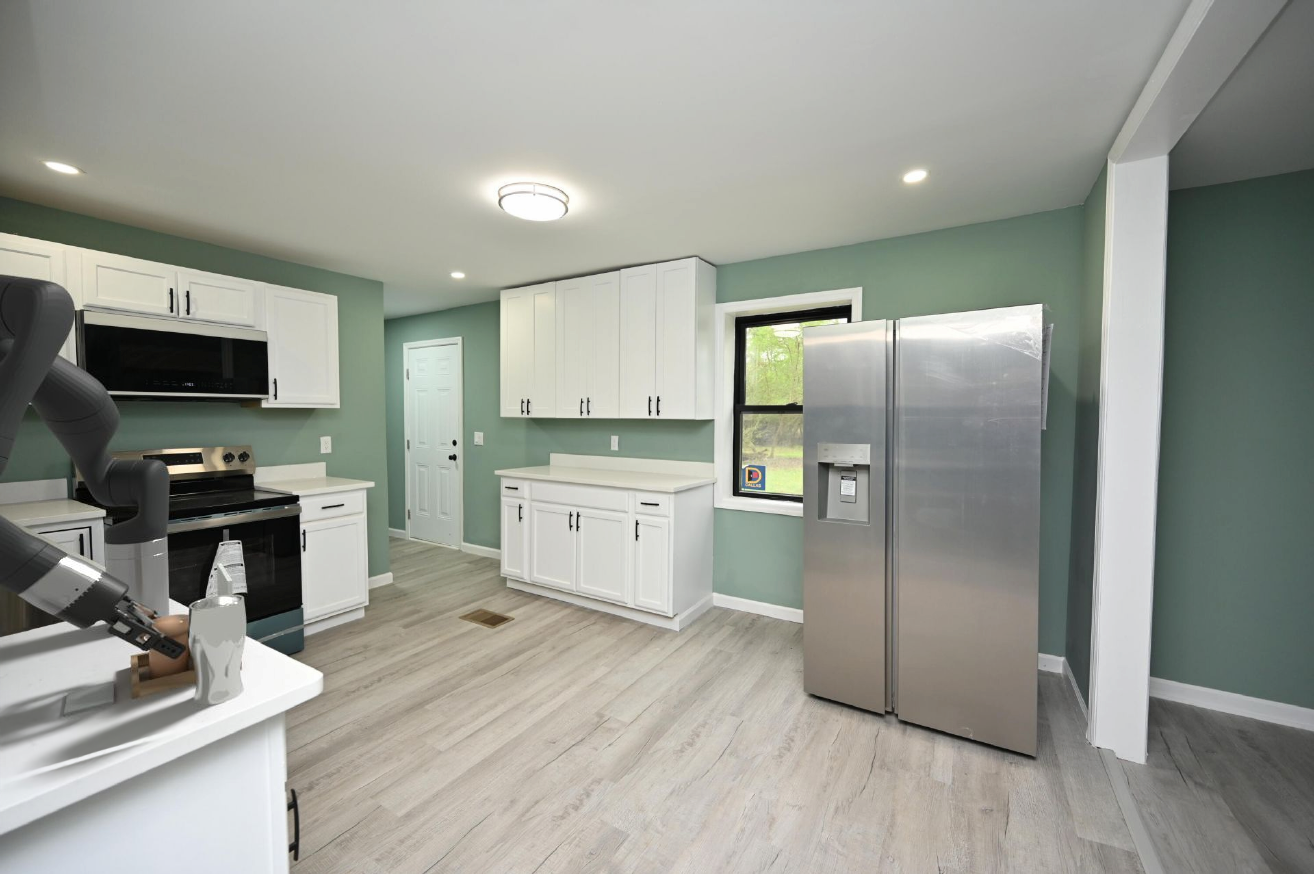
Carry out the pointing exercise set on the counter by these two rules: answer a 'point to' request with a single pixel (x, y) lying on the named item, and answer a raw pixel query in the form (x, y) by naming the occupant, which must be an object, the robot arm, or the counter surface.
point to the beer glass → (217, 647)
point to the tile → (89, 698)
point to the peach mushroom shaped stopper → (178, 631)
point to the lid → (223, 581)
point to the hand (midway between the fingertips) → (179, 645)
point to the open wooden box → (157, 684)
